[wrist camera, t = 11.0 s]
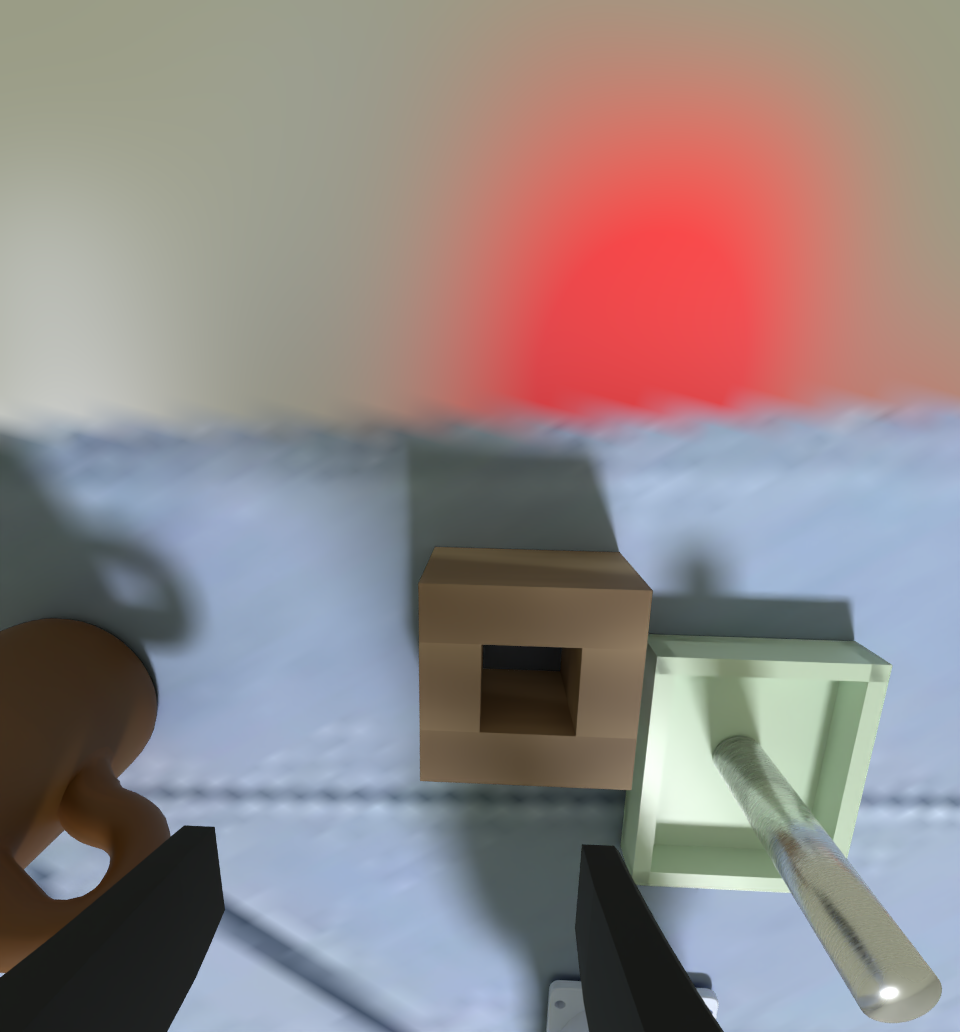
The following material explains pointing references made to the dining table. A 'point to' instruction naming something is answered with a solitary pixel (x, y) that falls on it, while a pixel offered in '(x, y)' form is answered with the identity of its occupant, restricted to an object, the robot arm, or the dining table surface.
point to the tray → (754, 713)
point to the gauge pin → (829, 890)
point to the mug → (68, 767)
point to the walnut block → (531, 693)
